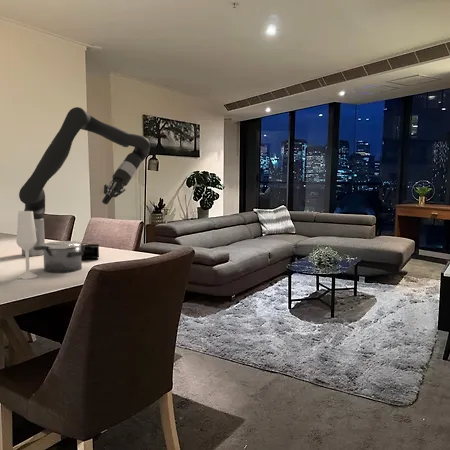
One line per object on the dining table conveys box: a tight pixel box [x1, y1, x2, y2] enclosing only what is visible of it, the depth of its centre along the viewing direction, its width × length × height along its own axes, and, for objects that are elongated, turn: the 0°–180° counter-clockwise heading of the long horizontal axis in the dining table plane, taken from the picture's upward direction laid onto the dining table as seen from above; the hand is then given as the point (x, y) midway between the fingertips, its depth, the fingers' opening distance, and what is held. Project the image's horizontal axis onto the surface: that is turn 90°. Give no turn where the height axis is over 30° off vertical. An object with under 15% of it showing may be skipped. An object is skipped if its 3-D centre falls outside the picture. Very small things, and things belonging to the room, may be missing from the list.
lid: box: [34, 240, 85, 250], centre depth 159 cm, size 19×14×1 cm
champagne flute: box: [15, 210, 39, 280], centre depth 146 cm, size 7×7×24 cm
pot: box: [43, 244, 86, 274], centre depth 161 cm, size 16×20×9 cm
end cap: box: [81, 243, 100, 262], centre depth 182 cm, size 10×7×7 cm
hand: (104, 203), depth 178 cm, fingers closed
